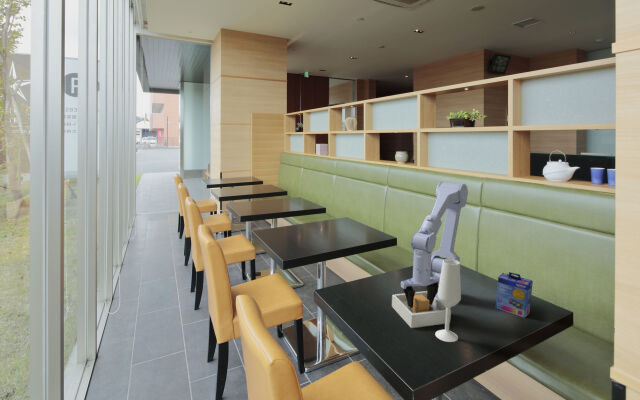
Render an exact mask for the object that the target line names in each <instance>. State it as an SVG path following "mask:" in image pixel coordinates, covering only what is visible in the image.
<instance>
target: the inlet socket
mask: <svg viewBox="0 0 640 400" xmlns="http://www.w3.org/2000/svg"><path fill="white" fill-rule="evenodd" d="M401 302H402V303H403V304H404V305H405V306H406V307H407V308H408V309H409V310H410V311H411V312H412V313H413V314H414V313H422V312H430V311H439V309H438V308H436V307H435V306H434V305H433V304H432V305H430V304H429V310H427V311H418V312H415V311H414V310H413V309H412V308H410V307H409V306H408V303H407V301H401Z"/></svg>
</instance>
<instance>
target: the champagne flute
mask: <svg viewBox="0 0 640 400" xmlns="http://www.w3.org/2000/svg"><path fill="white" fill-rule="evenodd" d="M460 262H461V261H460ZM460 262H459V261H457V260H453V259H450V258H446V259H445V260H443V263H442V269H441V275H440V281H439V288H438V294H437V296H438V298H439V300H440V301H441V303H443V304H444V305H445V306H446V320H445V324H444V329H439V330H437V331H435V334H434V335H435V337H436V338H437V339H439V340H440V341H443V342H446V343H452V342H453V343H454V342H457V341H458V339H459V336H458V334H457V333H455V332H453V331H451V330H450V323H449V321H450V322H451V318H450V310H451V308H452V307H455V306H456V305H458V304H459V303H460V302H461V300H462V294H461V293H462V291H461V290H462V289H461V286H462V283H461V284H460V281H461V263H460Z"/></svg>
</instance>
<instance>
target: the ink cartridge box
mask: <svg viewBox="0 0 640 400" xmlns="http://www.w3.org/2000/svg"><path fill="white" fill-rule="evenodd" d="M533 283H534V281H533V280H532V279H529V278H525V277H521V274H520V273H515V272H512V271H511V272H510V271H508V273H504V272H503V273H501V274H500V275H498V277H497V286H496V295H495V296H496V297H495V309H497V310H500V311H503V312H506V313H508V314H512V315H515V316H518V317H520V318H522V319H523V318H526V317H527V316H529V314H530V313H531V312H530V311H531V303H532V302H531V300H532V293H533Z"/></svg>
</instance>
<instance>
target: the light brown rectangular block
mask: <svg viewBox="0 0 640 400" xmlns="http://www.w3.org/2000/svg"><path fill="white" fill-rule="evenodd" d="M412 309H413V310H414V311H415V312H418V311H427V310H429V300H428V299H427V298H426V297H424V296H423V295H422V294H420V295H414V300H413V308H412Z"/></svg>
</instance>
